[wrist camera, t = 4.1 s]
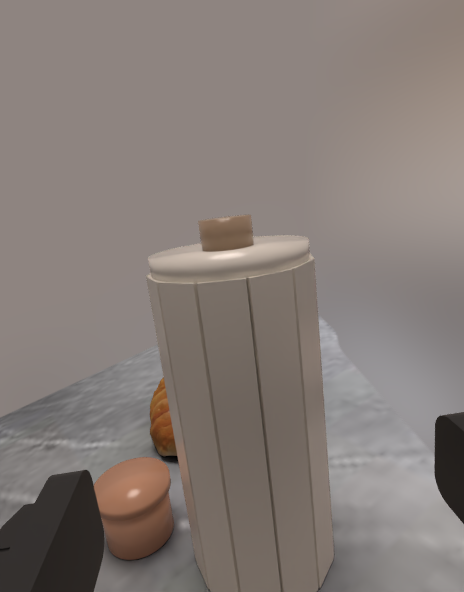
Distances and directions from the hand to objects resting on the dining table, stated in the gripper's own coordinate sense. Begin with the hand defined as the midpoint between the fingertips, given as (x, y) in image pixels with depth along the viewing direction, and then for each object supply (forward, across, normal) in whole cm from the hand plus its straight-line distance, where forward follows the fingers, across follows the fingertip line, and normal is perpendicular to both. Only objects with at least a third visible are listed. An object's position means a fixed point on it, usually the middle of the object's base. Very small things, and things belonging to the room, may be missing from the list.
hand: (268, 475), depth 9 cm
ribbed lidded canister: (+6, 0, +8) cm, 10 cm away
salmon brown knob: (+8, +5, +8) cm, 12 cm away
